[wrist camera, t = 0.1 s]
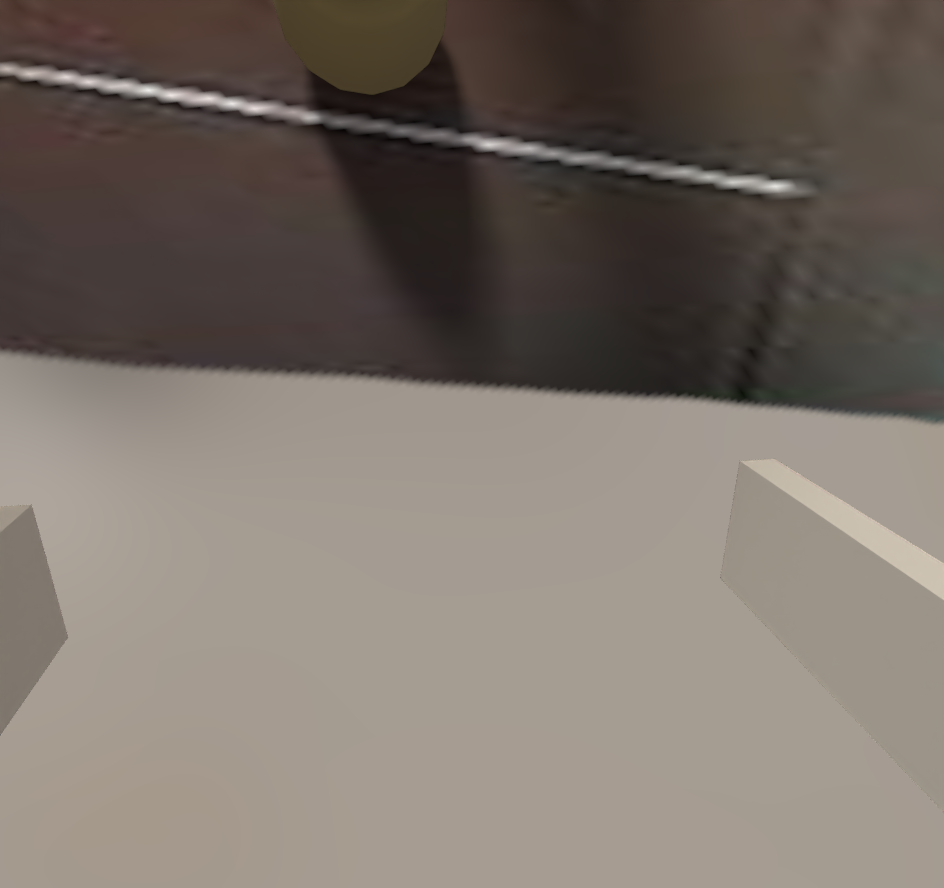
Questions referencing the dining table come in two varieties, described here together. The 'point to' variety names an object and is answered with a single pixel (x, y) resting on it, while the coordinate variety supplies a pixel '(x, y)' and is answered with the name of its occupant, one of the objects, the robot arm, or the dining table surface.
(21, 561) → the robot arm
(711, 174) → the dining table surface
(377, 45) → the squeeze bottle
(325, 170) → the dining table surface
